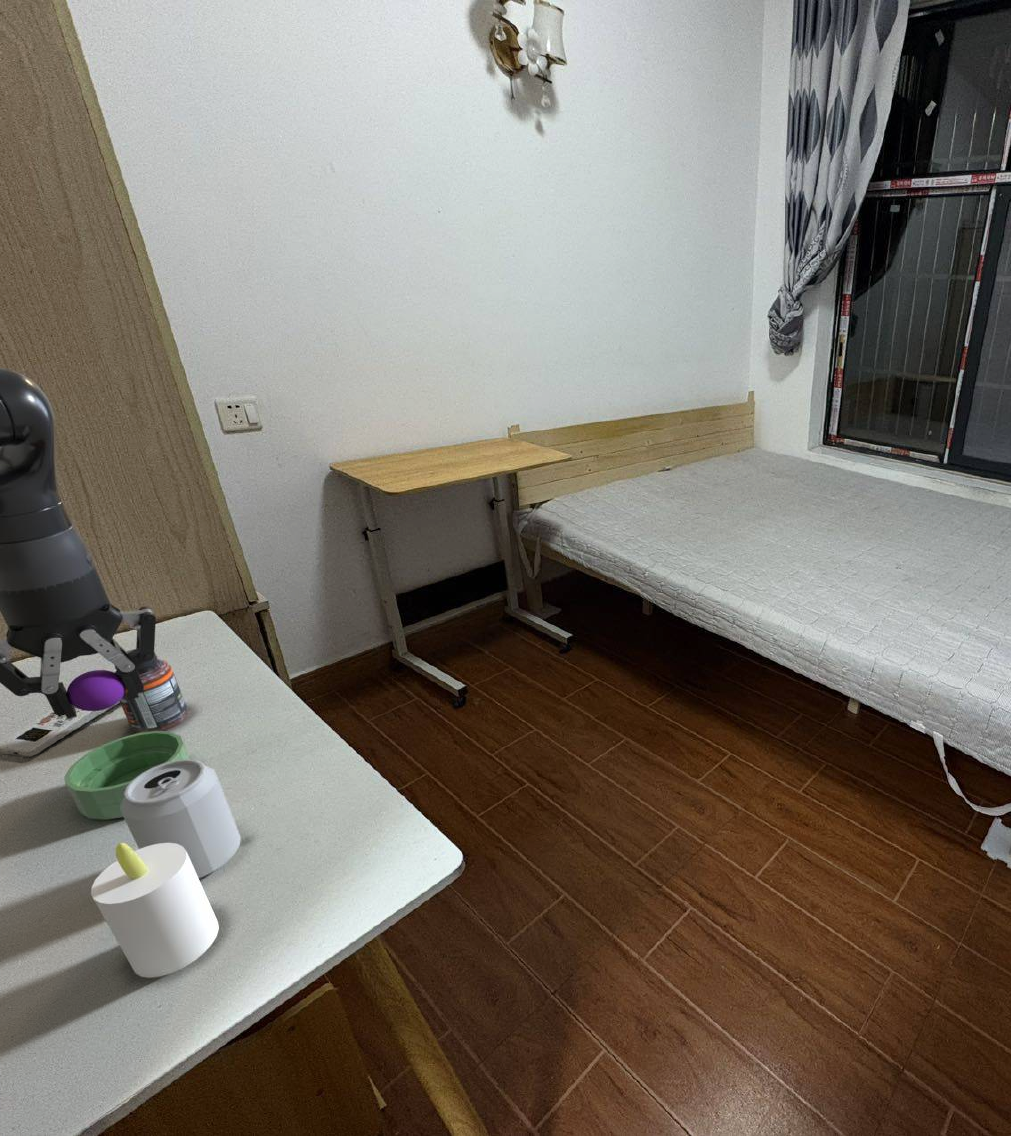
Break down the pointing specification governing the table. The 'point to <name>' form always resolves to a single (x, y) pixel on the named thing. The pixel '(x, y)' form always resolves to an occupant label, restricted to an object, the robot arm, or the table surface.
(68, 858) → the table surface
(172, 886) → the candle
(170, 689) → the supplement bottle
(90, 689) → the ball
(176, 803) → the can
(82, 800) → the bowl
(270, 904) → the table surface
